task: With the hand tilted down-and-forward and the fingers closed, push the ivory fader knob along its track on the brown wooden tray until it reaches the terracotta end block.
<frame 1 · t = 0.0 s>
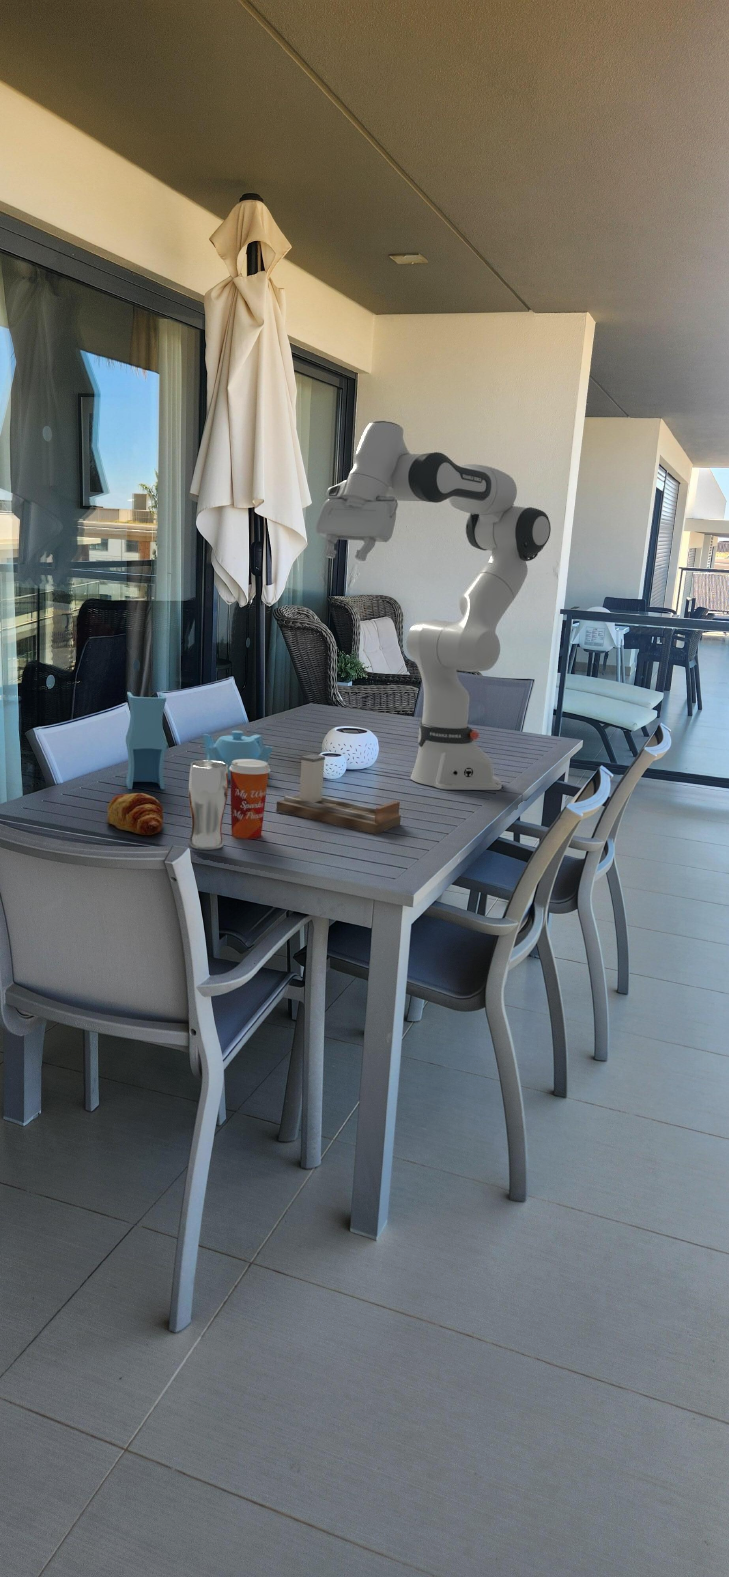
hand: (344, 558, 209), 52 cm above the table, tool tilted 20°, fingers open, 8 cm apart
brown wooden tray: (337, 817, 205), on the table
fader knob: (311, 778, 207), point 7 cm above the table, slide at 0.0 cm
vase: (144, 785, 220), on the table
beer glass: (205, 846, 180), on the table
croissant: (136, 826, 189), on the table
teapot: (234, 776, 235), on the table
paper cup: (246, 835, 188), on the table
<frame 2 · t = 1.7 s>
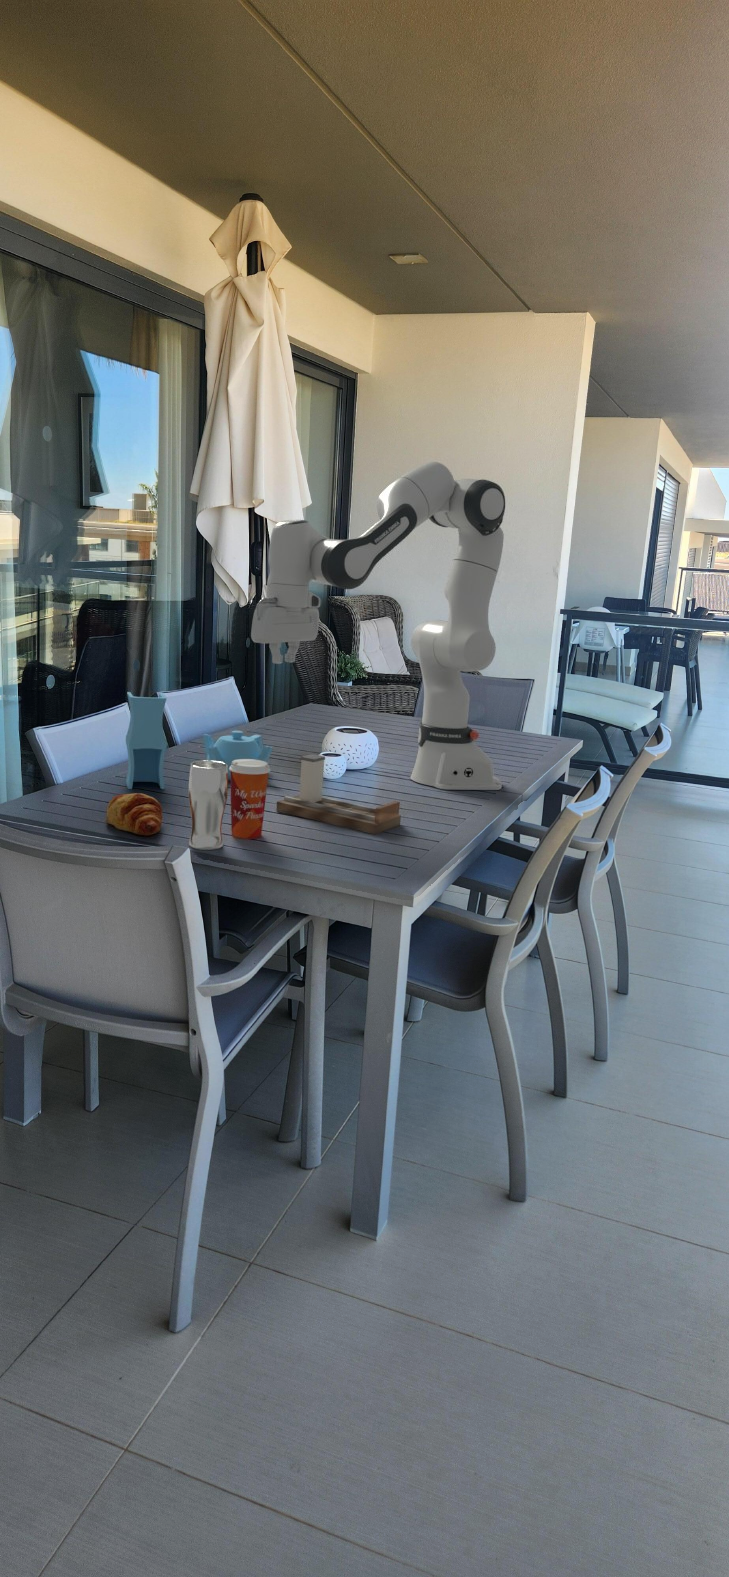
hand: (283, 662, 215), 29 cm above the table, tool pointing down, fingers open, 3 cm apart
nothing on the table moved.
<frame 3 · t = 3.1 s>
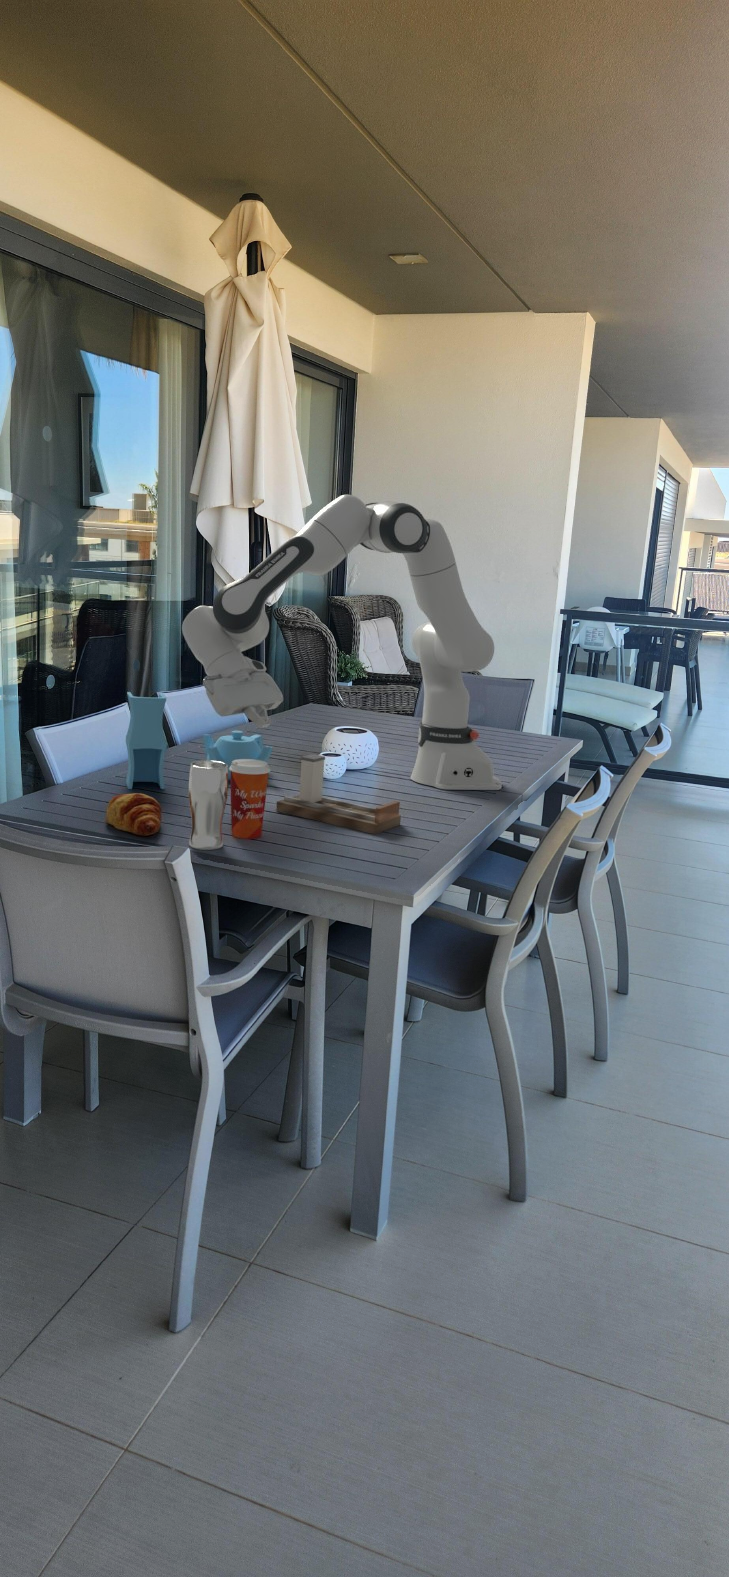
hand: (265, 726, 211), 16 cm above the table, tool tilted 45°, fingers closed
nothing on the table moved.
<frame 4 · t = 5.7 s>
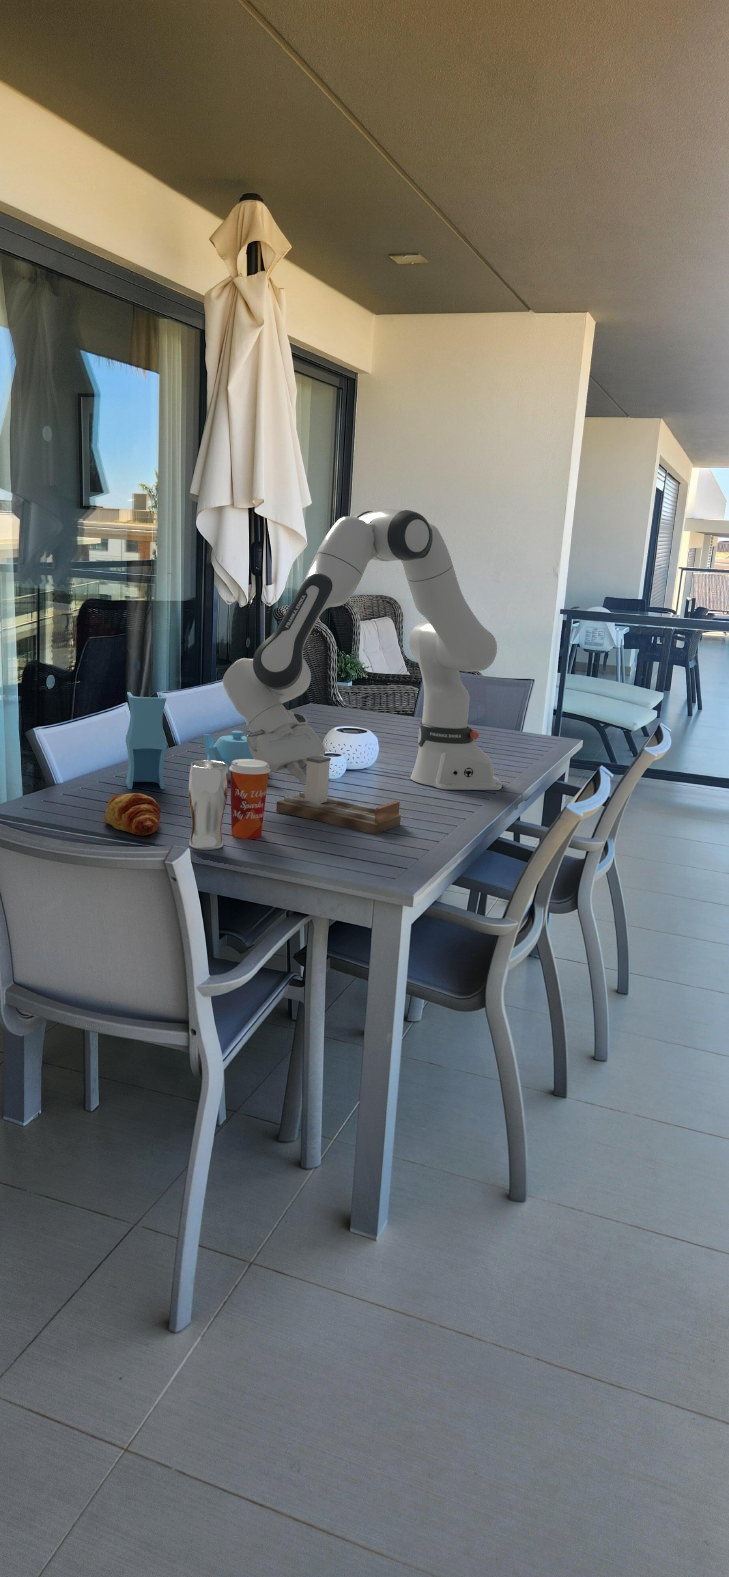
hand: (308, 781, 208), 6 cm above the table, tool tilted 45°, fingers closed, pressing on fader knob
fader knob: (317, 779, 206), point 7 cm above the table, slide at 1.4 cm, touching gripper
everything else where it was.
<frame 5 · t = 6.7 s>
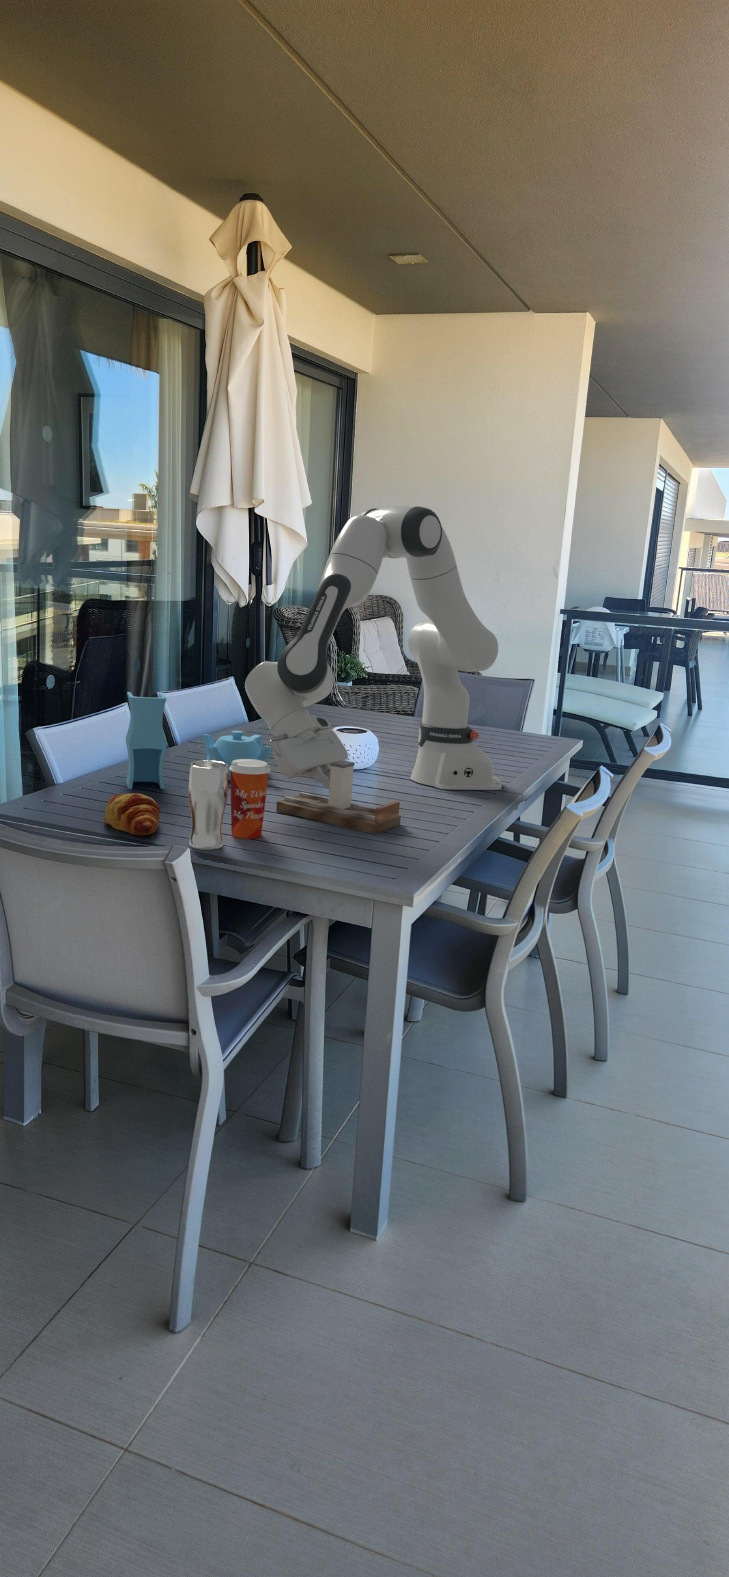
hand: (332, 786, 205), 6 cm above the table, tool tilted 45°, fingers closed, pressing on fader knob
fader knob: (340, 785, 203), point 7 cm above the table, slide at 7.2 cm, touching gripper
everything else where it was.
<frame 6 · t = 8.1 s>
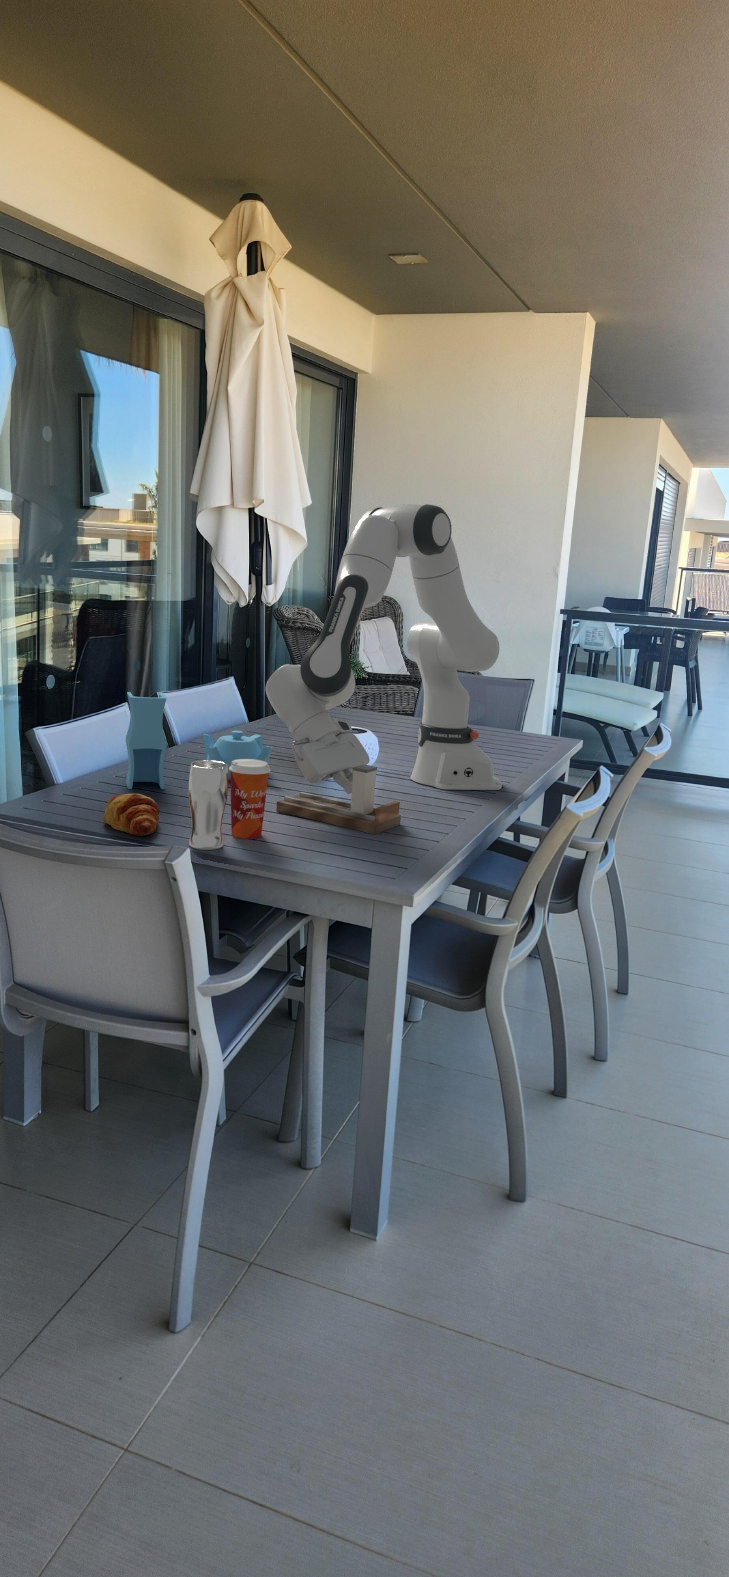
hand: (354, 791, 202), 6 cm above the table, tool tilted 45°, fingers closed, pressing on fader knob
fader knob: (363, 789, 201), point 7 cm above the table, slide at 12.6 cm, touching gripper
everything else where it was.
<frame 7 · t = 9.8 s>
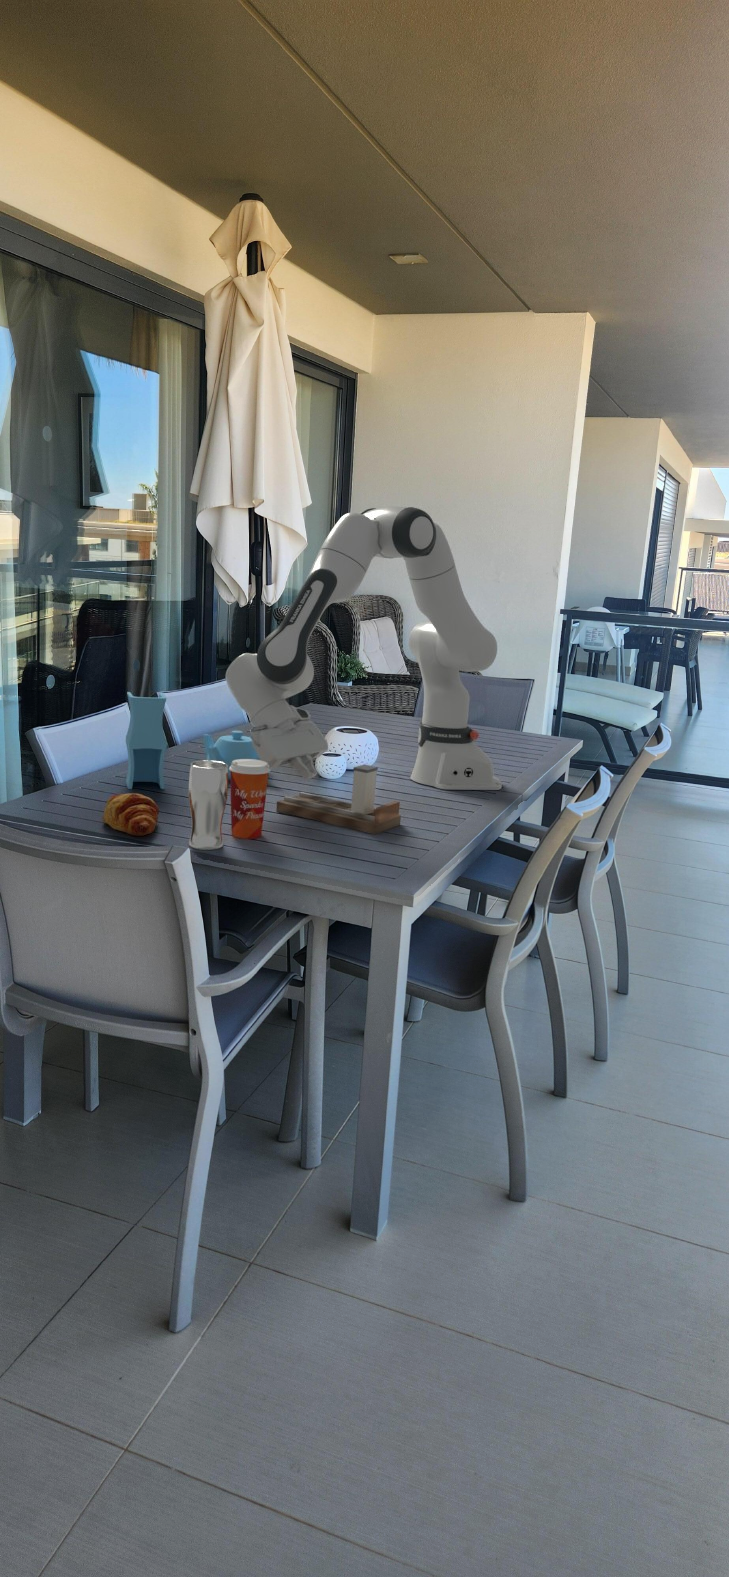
hand: (311, 776, 207), 7 cm above the table, tool tilted 45°, fingers closed
fader knob: (364, 789, 201), point 7 cm above the table, slide at 12.7 cm
everything else where it was.
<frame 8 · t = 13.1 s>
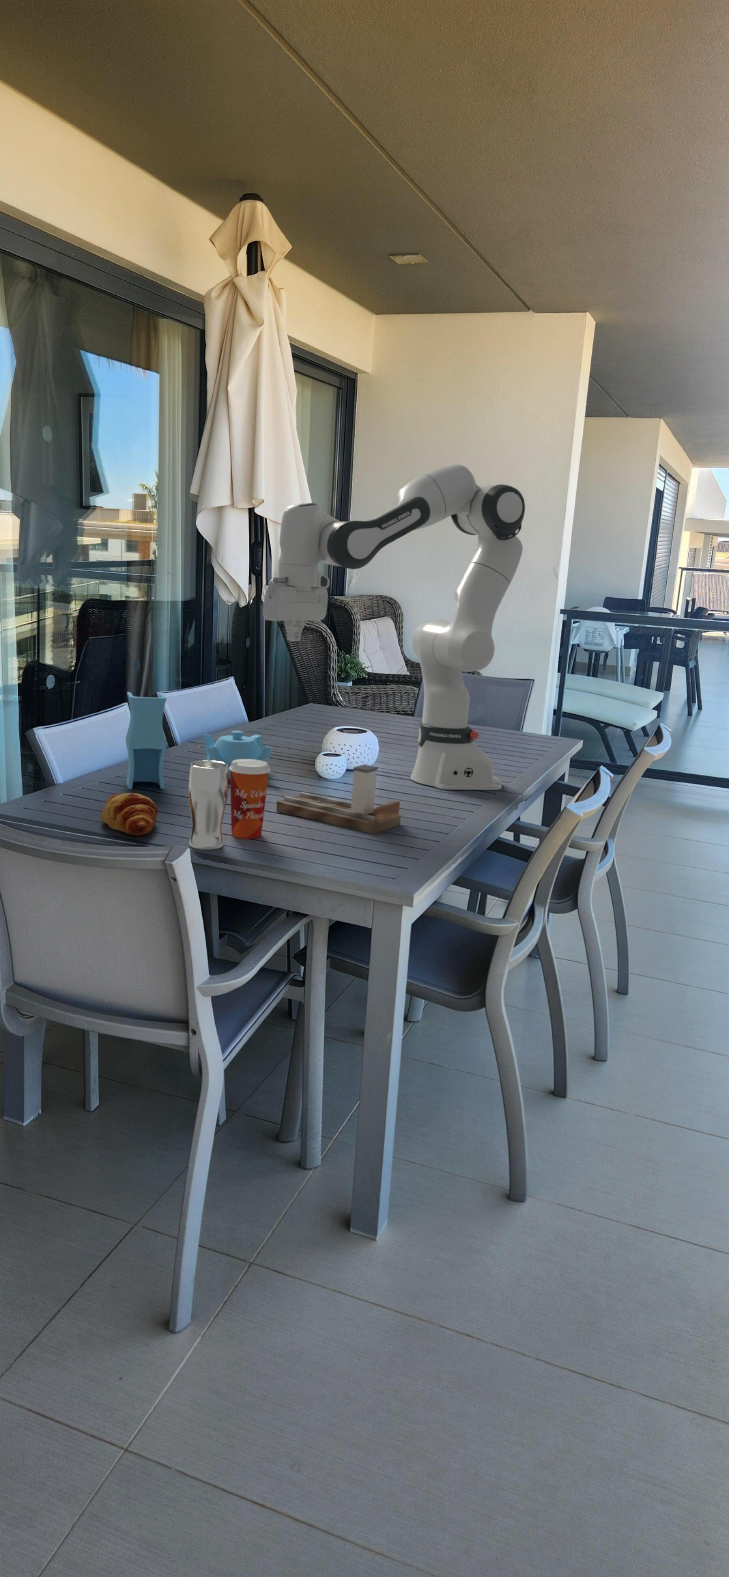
hand: (293, 640, 224), 33 cm above the table, tool pointing down, fingers closed
at the end: fader knob slide at 12.7 cm; the gripper is holding nothing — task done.
